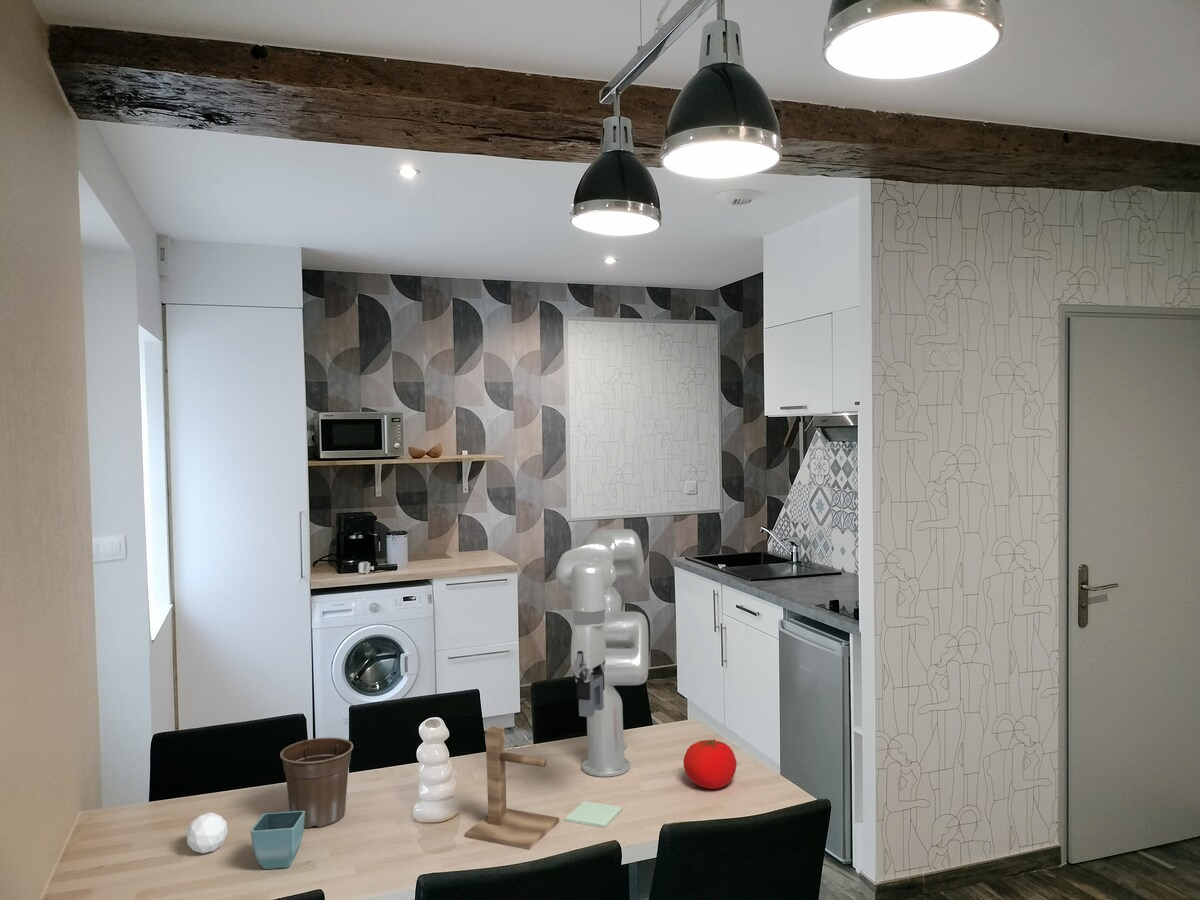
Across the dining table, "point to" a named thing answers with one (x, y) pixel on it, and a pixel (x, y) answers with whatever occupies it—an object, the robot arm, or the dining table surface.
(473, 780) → the dining table surface
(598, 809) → the mat
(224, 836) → the white faceted egg
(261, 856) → the flower pot
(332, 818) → the plant pot
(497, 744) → the stand
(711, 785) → the tomato
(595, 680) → the link
